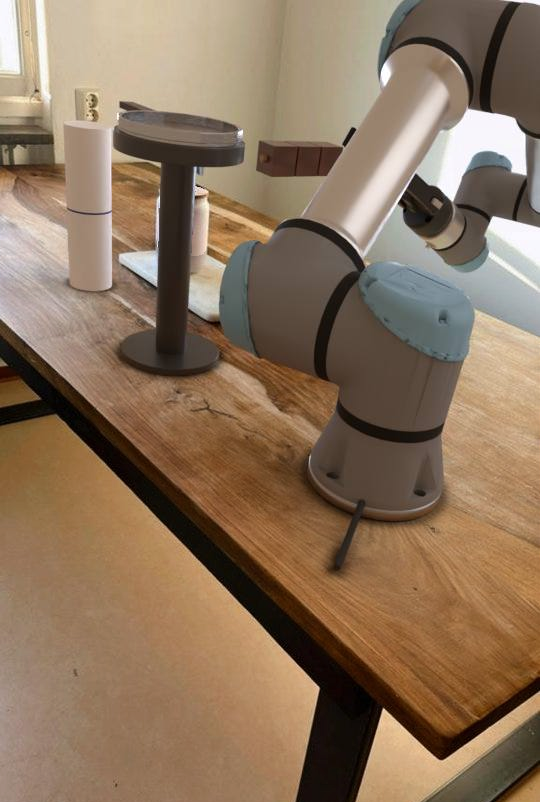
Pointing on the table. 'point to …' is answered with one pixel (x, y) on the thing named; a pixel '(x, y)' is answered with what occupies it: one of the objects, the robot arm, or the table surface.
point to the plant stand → (174, 226)
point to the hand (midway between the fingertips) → (355, 138)
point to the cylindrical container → (88, 204)
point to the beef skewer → (296, 158)
